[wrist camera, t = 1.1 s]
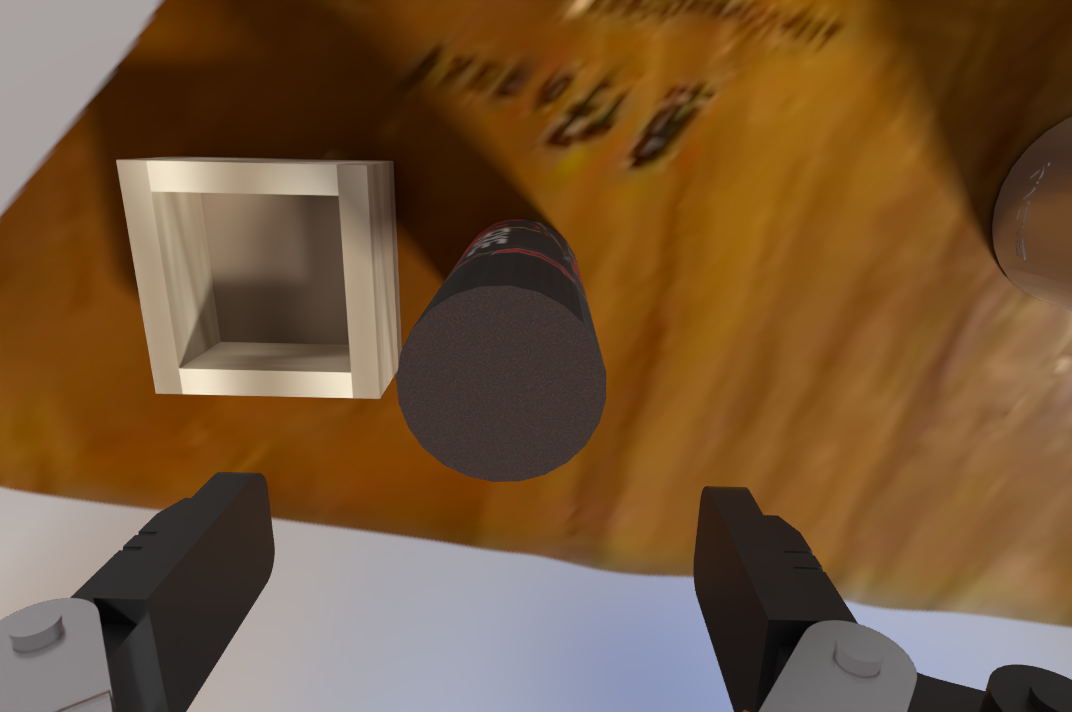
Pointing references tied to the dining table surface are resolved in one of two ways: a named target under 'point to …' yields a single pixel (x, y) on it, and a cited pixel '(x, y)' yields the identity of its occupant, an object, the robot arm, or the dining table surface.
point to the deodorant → (505, 359)
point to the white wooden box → (266, 274)
